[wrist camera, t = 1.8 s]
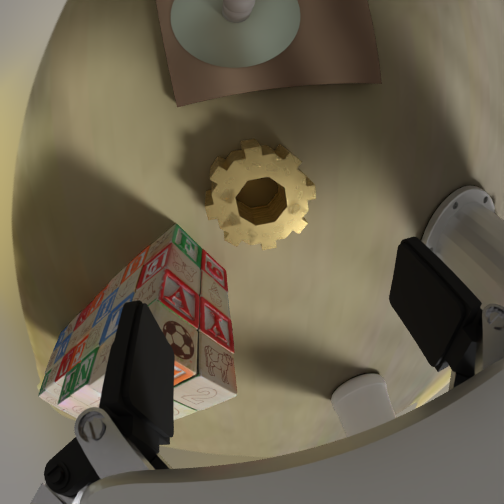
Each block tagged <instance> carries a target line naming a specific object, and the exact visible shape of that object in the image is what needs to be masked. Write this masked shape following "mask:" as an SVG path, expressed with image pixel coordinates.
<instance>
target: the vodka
mask: <svg viewBox="0 0 504 504" xmlns="http://www.w3.org/2000/svg"><path fill="white" fill-rule="evenodd" d="M331 403H332V406H333V408H334V410H335V411H336V413H337V414H338V416H339V419H340V421H341V423H342V426H343V428H344V430H345V433H346V436H347V437H350V436H352V435H355V434H358V433H361V432H363V431H366V430H369V429H371V428H374V427H376V426H379V425H381V424H384V423H386V422H388V421H391V420H393V419H395V418H397V417H396V415H395V413H394V410H393V408H392V405H391V403H390V399H389V396H388V392H387V385H386V382H385V380H384V378H383V377H382V376H380V375H379V374H374V373H370V374H363V375H360V376H357V377H354V378H352V379H350V380H348V381H346V382H345V383H343V384H342V385H341V386H339V387H338V388H337V389H336V390H335V392H334V393H333V394H332V398H331Z"/></svg>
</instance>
